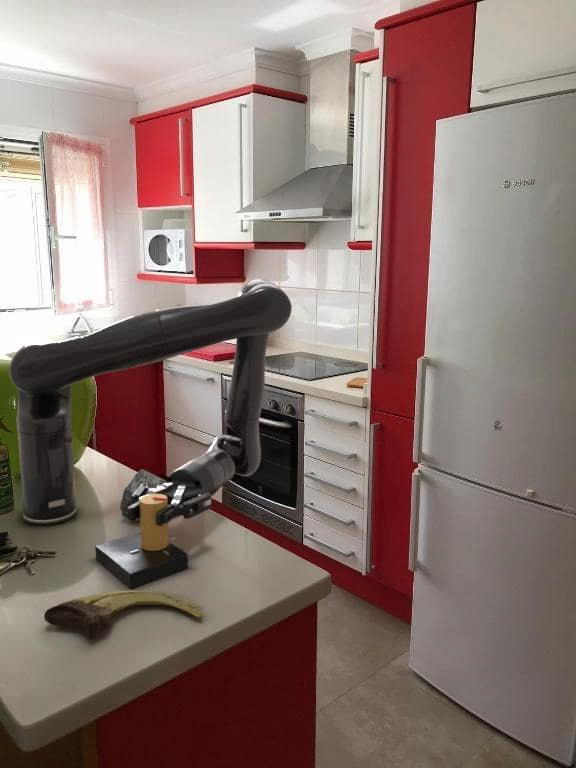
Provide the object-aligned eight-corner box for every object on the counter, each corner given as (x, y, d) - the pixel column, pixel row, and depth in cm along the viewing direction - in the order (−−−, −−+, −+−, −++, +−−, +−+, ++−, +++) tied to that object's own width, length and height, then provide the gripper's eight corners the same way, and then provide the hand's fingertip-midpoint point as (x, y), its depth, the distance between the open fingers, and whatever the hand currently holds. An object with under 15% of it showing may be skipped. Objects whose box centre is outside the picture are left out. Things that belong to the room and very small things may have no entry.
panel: (95, 559, 103) (95, 544, 102) (159, 539, 110) (159, 525, 110) (130, 589, 94) (130, 573, 93) (197, 565, 101) (197, 549, 101)
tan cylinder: (136, 549, 101) (134, 500, 99) (148, 537, 105) (147, 490, 104) (161, 552, 100) (160, 503, 98) (173, 540, 104) (171, 493, 102)
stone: (128, 459, 121) (156, 472, 114) (164, 482, 127) (192, 495, 120) (100, 504, 118) (127, 519, 111) (138, 525, 124) (166, 541, 117)
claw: (49, 652, 79) (48, 627, 78) (46, 611, 88) (45, 588, 87) (203, 623, 86) (203, 600, 85) (185, 587, 95) (185, 566, 95)
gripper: (161, 457, 116) (104, 488, 100) (232, 466, 111) (183, 501, 96) (162, 495, 118) (106, 532, 102) (232, 506, 113) (184, 547, 97)
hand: (144, 517), depth 99 cm, fingers closed on tan cylinder, 4 cm apart
